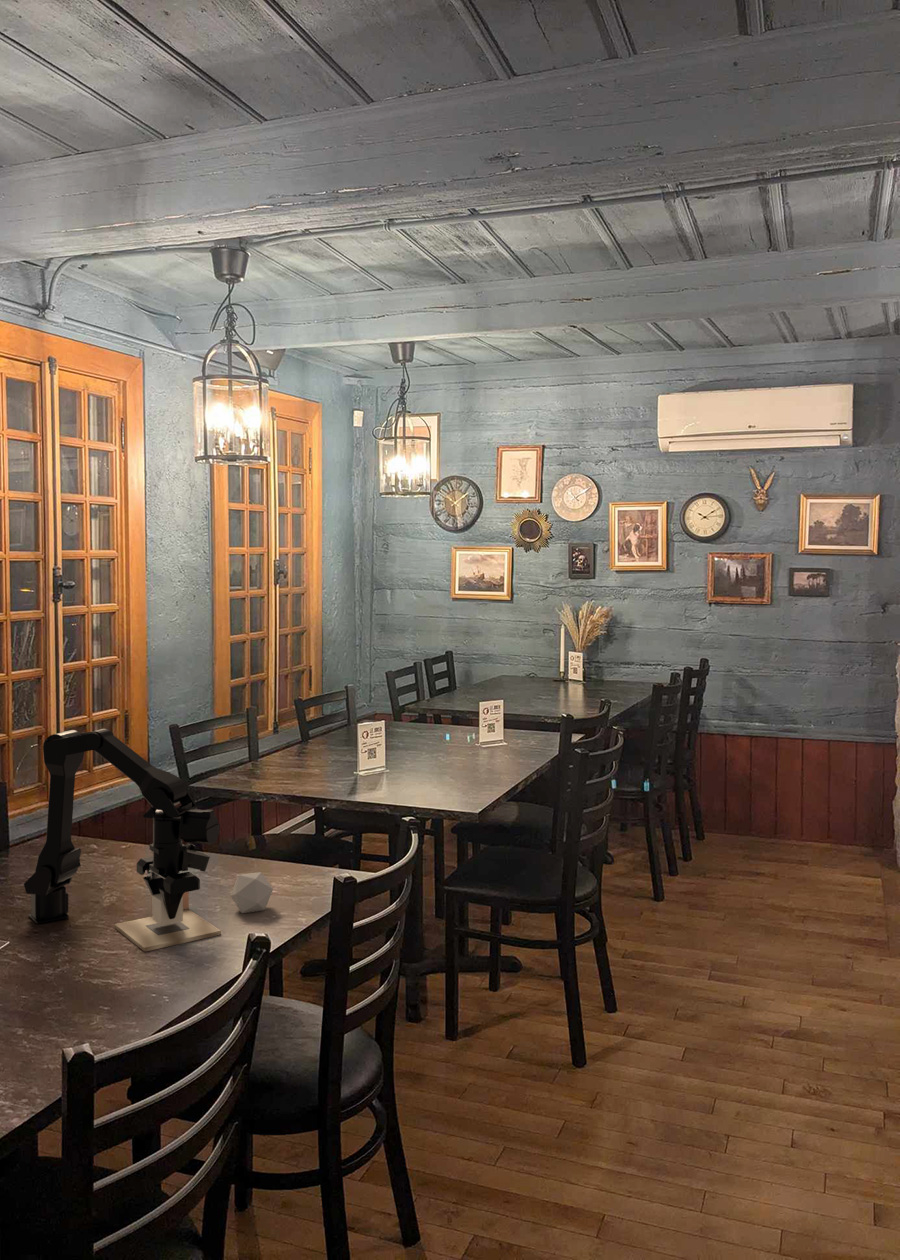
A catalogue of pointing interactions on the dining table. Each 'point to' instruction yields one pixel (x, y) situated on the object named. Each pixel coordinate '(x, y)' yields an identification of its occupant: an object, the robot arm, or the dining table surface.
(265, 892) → the die
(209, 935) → the tan board
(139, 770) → the robot arm
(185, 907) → the terracotta block
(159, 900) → the cream block
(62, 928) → the dining table surface
